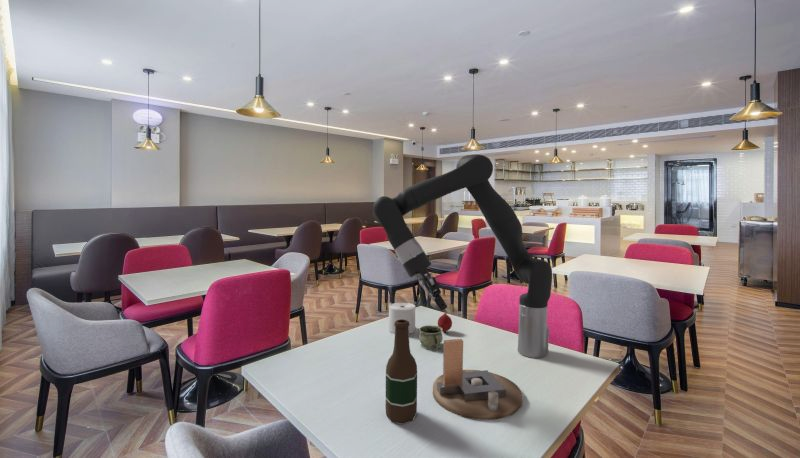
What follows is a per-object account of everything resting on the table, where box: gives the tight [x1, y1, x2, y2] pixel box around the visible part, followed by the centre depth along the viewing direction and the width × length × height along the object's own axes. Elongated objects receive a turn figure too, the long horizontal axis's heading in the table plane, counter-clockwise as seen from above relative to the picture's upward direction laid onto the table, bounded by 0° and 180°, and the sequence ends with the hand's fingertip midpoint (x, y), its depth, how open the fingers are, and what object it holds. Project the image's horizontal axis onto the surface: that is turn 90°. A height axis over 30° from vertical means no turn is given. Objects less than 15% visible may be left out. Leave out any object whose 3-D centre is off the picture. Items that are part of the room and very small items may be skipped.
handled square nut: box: [437, 338, 506, 401], centre depth 104 cm, size 17×11×14 cm
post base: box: [432, 369, 523, 421], centre depth 105 cm, size 24×24×6 cm
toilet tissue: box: [388, 301, 416, 335], centre depth 156 cm, size 11×12×10 cm
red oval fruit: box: [437, 312, 453, 333], centre depth 153 cm, size 6×6×8 cm
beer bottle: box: [385, 319, 418, 425], centre depth 94 cm, size 8×8×24 cm
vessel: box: [418, 324, 444, 351], centre depth 140 cm, size 12×9×6 cm
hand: (444, 309), depth 109 cm, fingers closed
